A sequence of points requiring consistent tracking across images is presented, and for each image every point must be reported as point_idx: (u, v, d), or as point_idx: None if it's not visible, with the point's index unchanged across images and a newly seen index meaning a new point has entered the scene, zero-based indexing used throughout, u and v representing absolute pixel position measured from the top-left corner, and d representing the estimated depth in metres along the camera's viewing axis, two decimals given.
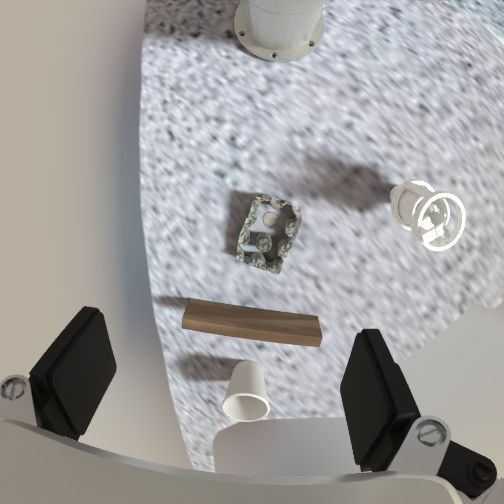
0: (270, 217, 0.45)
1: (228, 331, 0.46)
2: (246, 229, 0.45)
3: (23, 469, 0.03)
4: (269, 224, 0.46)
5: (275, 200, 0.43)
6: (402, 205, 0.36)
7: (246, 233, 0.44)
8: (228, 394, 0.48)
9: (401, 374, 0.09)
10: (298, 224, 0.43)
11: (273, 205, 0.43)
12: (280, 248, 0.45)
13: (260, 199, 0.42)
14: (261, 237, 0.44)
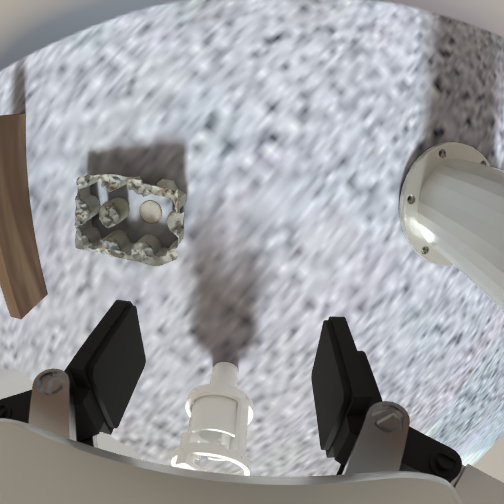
0: (153, 212, 0.28)
1: None
2: None
3: (23, 469, 0.03)
4: (142, 212, 0.28)
5: (179, 218, 0.26)
6: (215, 403, 0.27)
7: (118, 184, 0.25)
8: None
9: (367, 362, 0.09)
10: (151, 261, 0.26)
11: (170, 217, 0.26)
12: (110, 241, 0.26)
13: (174, 197, 0.24)
14: (118, 208, 0.25)
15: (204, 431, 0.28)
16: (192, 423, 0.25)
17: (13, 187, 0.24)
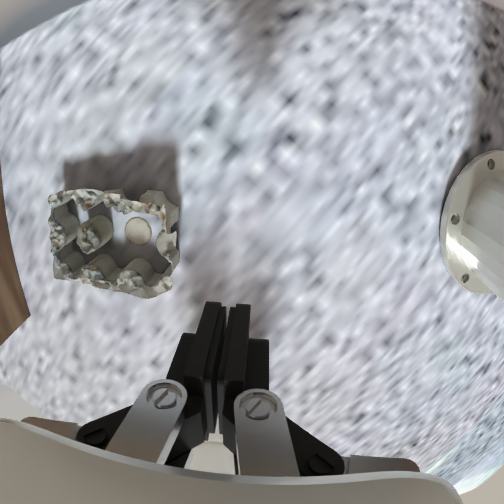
0: (140, 231, 0.22)
1: None
2: None
3: (23, 469, 0.03)
4: (128, 232, 0.22)
5: (171, 239, 0.21)
6: (215, 452, 0.21)
7: (95, 200, 0.20)
8: None
9: (268, 350, 0.10)
10: (141, 292, 0.21)
11: (160, 238, 0.20)
12: (92, 269, 0.21)
13: (162, 213, 0.19)
14: (97, 229, 0.20)
15: None
16: None
17: None
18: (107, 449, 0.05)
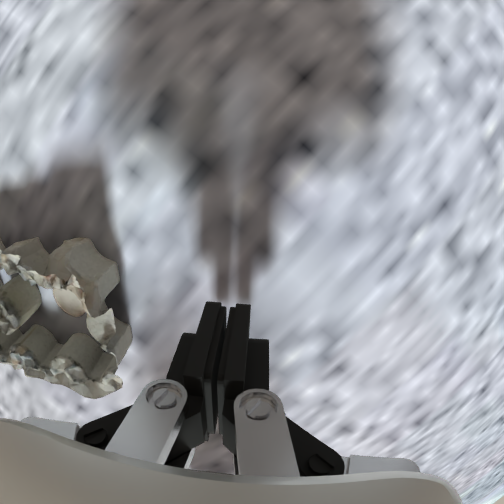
0: (72, 298, 0.13)
1: None
2: None
3: (23, 469, 0.03)
4: (57, 299, 0.14)
5: (106, 320, 0.12)
6: None
7: (0, 260, 0.11)
8: None
9: (268, 350, 0.10)
10: (82, 390, 0.12)
11: (90, 318, 0.12)
12: (21, 352, 0.12)
13: (78, 287, 0.10)
14: (12, 302, 0.11)
15: None
16: None
17: None
18: (107, 449, 0.05)
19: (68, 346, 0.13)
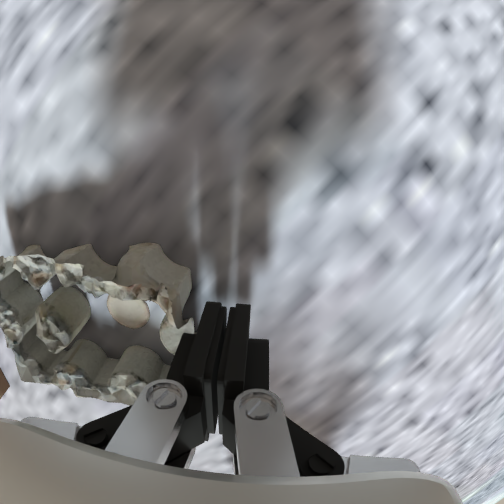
0: (131, 308, 0.13)
1: None
2: None
3: (23, 469, 0.03)
4: (113, 310, 0.13)
5: (185, 330, 0.12)
6: None
7: (48, 271, 0.11)
8: None
9: (268, 350, 0.10)
10: None
11: (165, 330, 0.11)
12: (70, 371, 0.12)
13: (162, 297, 0.10)
14: (62, 317, 0.11)
15: None
16: None
17: None
18: (107, 449, 0.05)
19: (127, 361, 0.13)
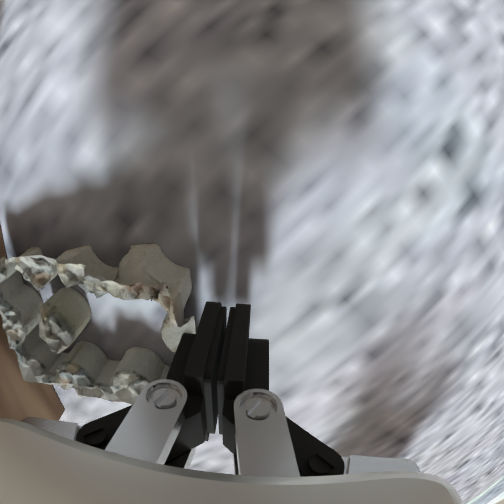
0: None
1: None
2: None
3: (23, 469, 0.03)
4: None
5: (186, 328, 0.12)
6: None
7: (50, 271, 0.11)
8: None
9: (268, 350, 0.10)
10: None
11: (167, 328, 0.12)
12: (72, 371, 0.12)
13: (164, 296, 0.10)
14: (64, 316, 0.12)
15: None
16: None
17: None
18: (107, 449, 0.05)
19: (129, 360, 0.13)
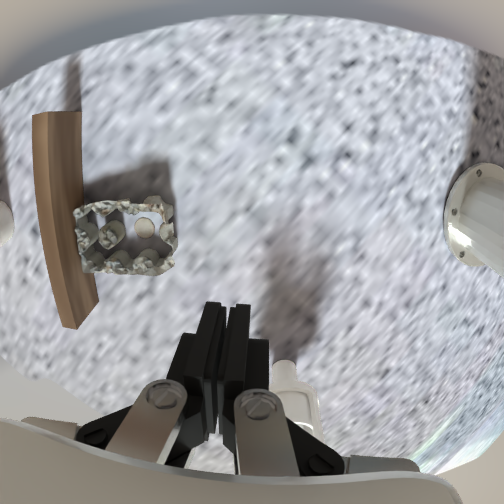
0: (146, 227, 0.30)
1: (42, 192, 0.23)
2: None
3: (23, 469, 0.03)
4: (137, 229, 0.30)
5: (169, 229, 0.28)
6: (289, 398, 0.29)
7: (110, 208, 0.27)
8: None
9: (268, 350, 0.10)
10: (152, 272, 0.29)
11: (161, 229, 0.28)
12: (113, 260, 0.29)
13: (161, 210, 0.26)
14: (114, 230, 0.28)
15: None
16: None
17: (70, 190, 0.26)
18: (107, 449, 0.05)
19: (143, 253, 0.30)
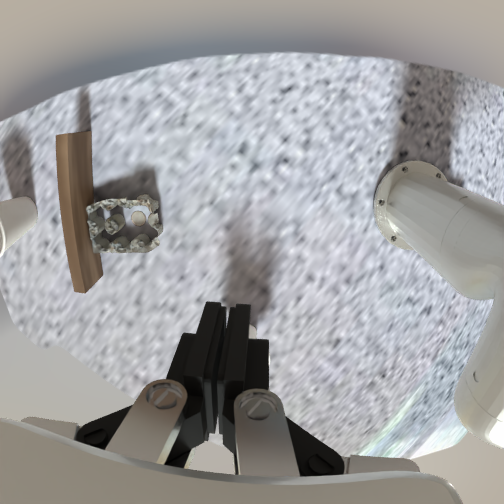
0: (139, 218, 0.40)
1: (64, 190, 0.33)
2: None
3: (23, 469, 0.03)
4: (133, 220, 0.41)
5: (155, 217, 0.39)
6: None
7: (113, 204, 0.38)
8: None
9: (268, 350, 0.10)
10: (143, 250, 0.39)
11: (149, 218, 0.38)
12: (116, 243, 0.39)
13: (148, 204, 0.37)
14: (116, 220, 0.39)
15: None
16: None
17: (84, 189, 0.37)
18: (107, 449, 0.05)
19: (137, 236, 0.40)
